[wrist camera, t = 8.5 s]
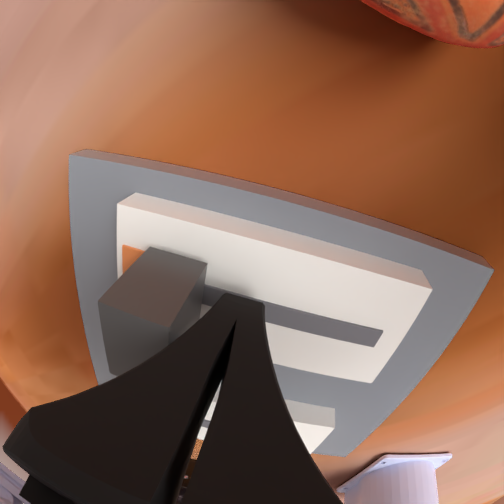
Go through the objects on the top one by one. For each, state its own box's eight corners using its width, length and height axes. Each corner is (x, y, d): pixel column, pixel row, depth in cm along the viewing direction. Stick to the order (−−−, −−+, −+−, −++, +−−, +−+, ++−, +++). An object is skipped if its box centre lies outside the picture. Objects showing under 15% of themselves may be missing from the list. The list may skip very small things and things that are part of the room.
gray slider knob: (197, 331, 11) (167, 396, 8) (148, 314, 11) (109, 372, 8) (207, 263, 9) (169, 327, 7) (150, 246, 9) (97, 301, 7)
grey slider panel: (345, 443, 18) (343, 515, 13) (107, 377, 19) (69, 438, 14) (482, 256, 10) (551, 347, 5) (86, 149, 11) (-22, 191, 6)
